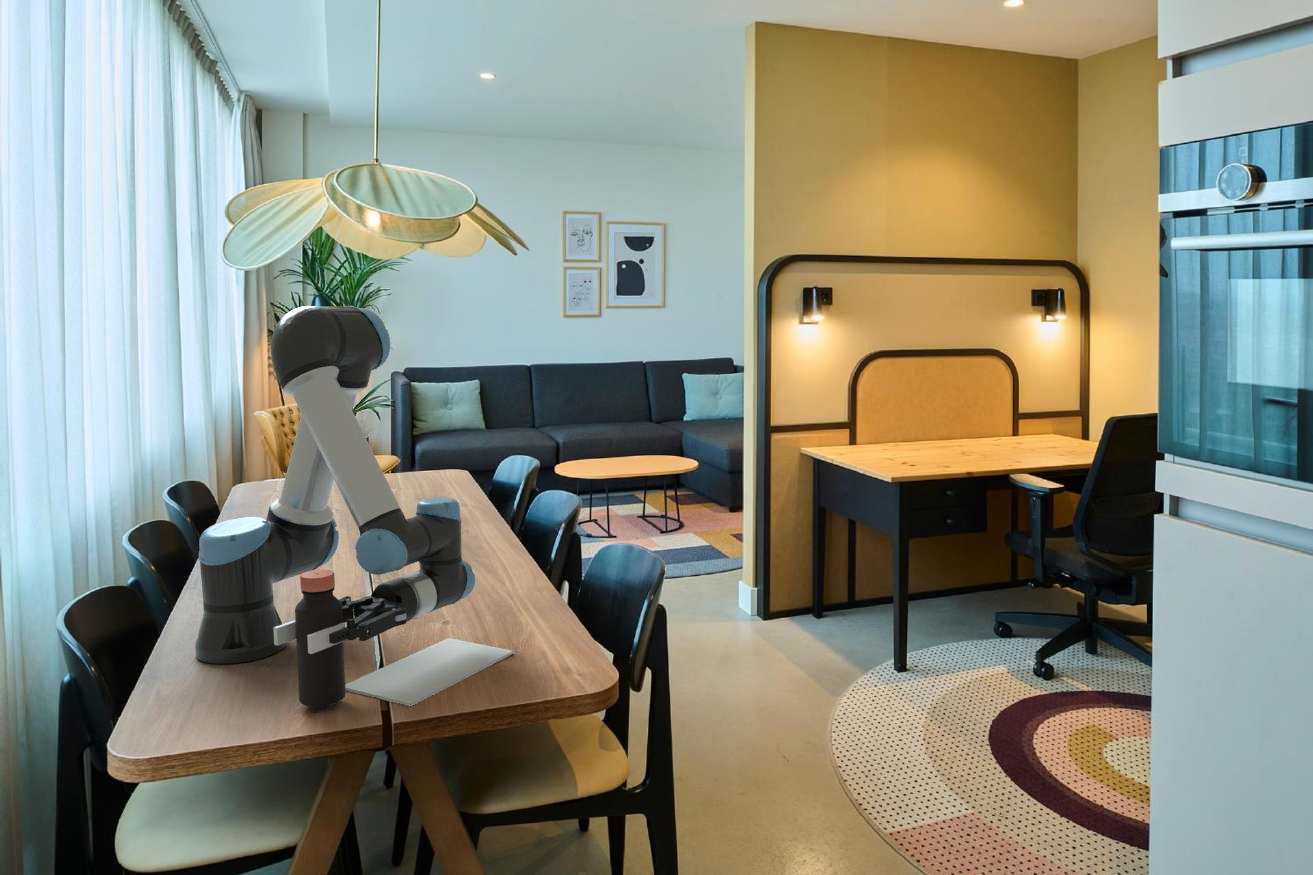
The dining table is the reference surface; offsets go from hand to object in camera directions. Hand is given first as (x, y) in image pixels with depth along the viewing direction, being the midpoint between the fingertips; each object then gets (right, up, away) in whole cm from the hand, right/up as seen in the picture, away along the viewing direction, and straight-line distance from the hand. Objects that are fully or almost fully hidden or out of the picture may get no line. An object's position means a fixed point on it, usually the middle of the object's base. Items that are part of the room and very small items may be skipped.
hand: (292, 640), depth 137 cm
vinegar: (+2, -11, +6) cm, 12 cm away
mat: (+16, -10, +20) cm, 27 cm away
